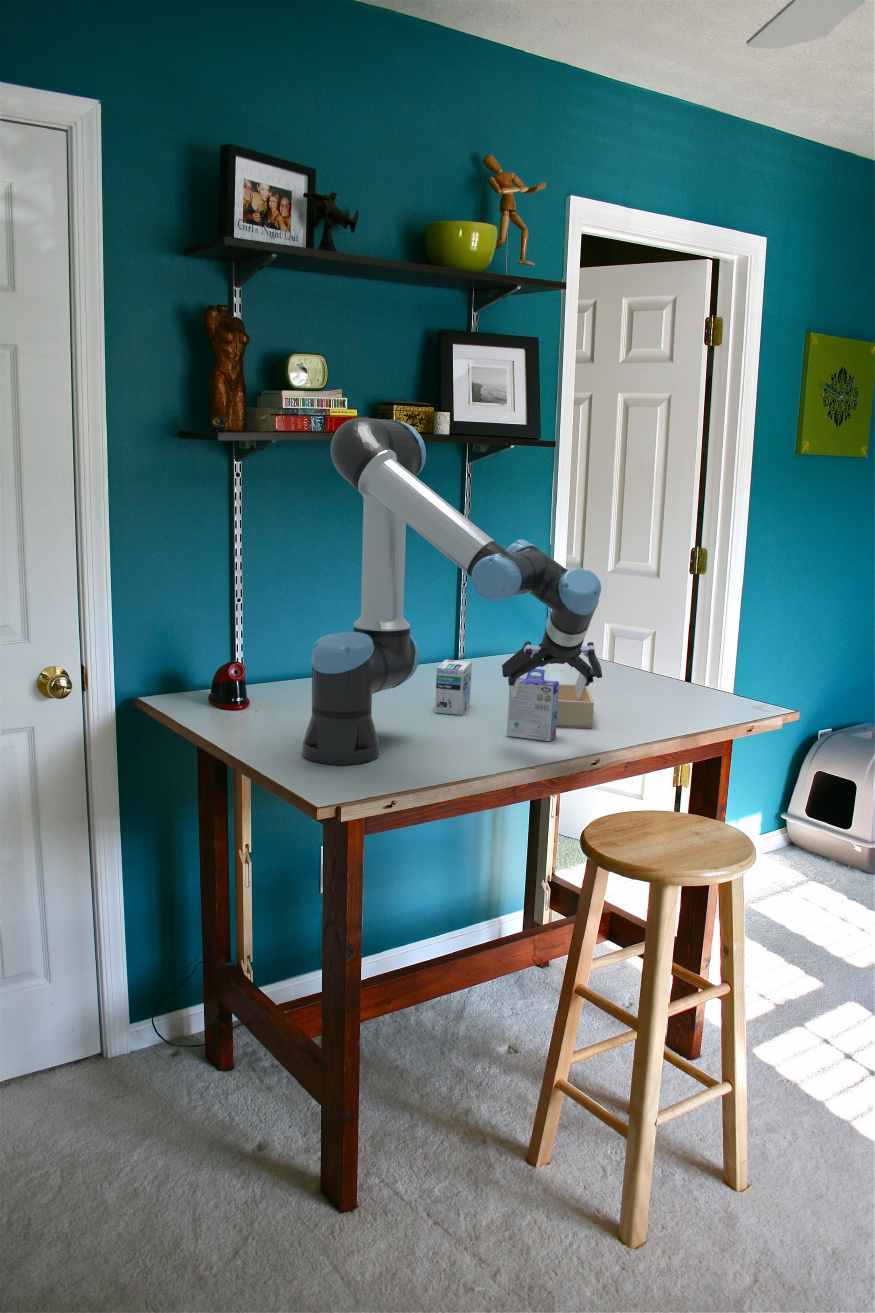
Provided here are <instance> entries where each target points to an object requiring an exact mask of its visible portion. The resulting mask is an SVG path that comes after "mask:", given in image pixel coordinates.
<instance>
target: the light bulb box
mask: <svg viewBox="0 0 875 1313" xmlns="http://www.w3.org/2000/svg"><path fill="white" fill-rule="evenodd" d="M472 664H473V663H472V662H471V661H463V660H453V659H445V660H443V661H442V662H441V664H440V665H438V666H437V667H436V674H435V676H436V677H435V678H436V680H435V683H436V684H435V704H434V705H435V707H434V708H435V709H434V710H435V713H436V714H447V715H457V716H463V715H464V714H465V712H466V711H467V710H468V708H469V707H470V706H471V688H472V685H471V684H472Z"/></svg>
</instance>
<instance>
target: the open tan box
mask: <svg viewBox="0 0 875 1313" xmlns="http://www.w3.org/2000/svg"><path fill="white" fill-rule="evenodd" d="M575 685H576V684H568V683H559V692H558V708H557V725H556V728H565V729H567V728H568V729H583V728H584V729H585V730H588V729H589V730H593V722H594V720H593V719H594V706H595V705H594V704H595V702H594V699H593V696H592V694H591V692H590V689H589V685H588V686H584V689H583V691H582V694H581V696H580V698H576V692H575Z"/></svg>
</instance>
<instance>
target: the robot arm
mask: <svg viewBox="0 0 875 1313" xmlns="http://www.w3.org/2000/svg"><path fill="white" fill-rule="evenodd" d="M329 450H330V457H331V458H330V459H331V460H332V464H333V465H334V466H333V467H335V470H336V471H337V472H338V473H339V474H340V476H342V478H343V479H345V480H346V481H347V483H349V484H350V485H351V486H352V487H354V488H355V489H356V490H357V491H358V492H359V494H360V495H362V497H363V506H362V507H363V512H362V513H363V514H362V515H363V516H362V517H363V518H362V554H361V555H362V556H361V557H362V560H361V561H362V562H361V603H360V604H361V606H360V607H361V608H360V611H361V612H360V614H361V615H360V616H359V618H358V619H356V620H355V621H354V622H353V631H342V632H338V633H337V632H334V633H330V634H326V635H323V636H321V637H319V638H318V639H316V641H315V642H314V643H313V647H312V656H311V661H310V662H311V666H312V667H311V670H312V672H311V716H310V720H309V723H308V725H307V728H306V731H305V734H304V737H303V739H302V740H303V741H302V748H301V749H302V756H303V757H304V758H306V759H307V760H309V761H312V762H316V763H320V764H325V765H335V766H336V765H341V766H343V765H346V766H347V765H357V764H363V763H368V762H371V761H374V760H375V759H377V758H378V757H379V756H380V748H381V747H380V745H381V744H380V740H379V737H378V733H377V731H376V727H375V724H374V721H373V717H372V705H373V704H372V702H373V700H372V699H373V695H374V694H376V693H379V692H382V691H386V690H390V689H394V688H397V687H398V686H401V685H403V683H406V682H407V681H409V679H410V678H412V676H414V674H415V672H416V670H417V668H418V666H419V662H420V649H419V647H418V644H417V642H416V641H415V639H414V637H413V635H411V623H409V622H408V621H407V620H406V619H405V616H404V604H405V603H404V597H405V596H404V595H405V568H406V566H405V565H406V563H405V562H406V560H405V559H406V538H407V535H406V531H407V530H406V529H407V526H409V527H410V528H411V529H413V530H414V531H416V533H418V534H419V535H420V536H421V537H422V538H423V539H425V540H426V541H427V542H429V544H431V545H432V546H433V547H434V548H436V550H438V551H439V552H440V553H442V554H443V555H444V556H445V557H446V558H448V559H449V560H450V562H453V564H455V565H456V566H457V567H458V568H460V569H461V570H462V571H463V572H464V573H466V574H467V576H469V577H471V583H472V585H473V588H474V590H475V592H476V593H477V595H479V596H480V597H482V598H484V599H486V600H492V601H494V600H495V601H496V600H498V601H500V600H506V599H510V598H512V597H515V596H519V595H524V594H530V595H531V596H533V597H535V598H536V599H537V600H538V601H540V602H541V603H542V604H544V605H546V606H547V607H548V608H549V609H551V612H550V615H549V618H548V620H547V624H546V627H545V630H544V633H543V635H542V636H543V637H542V641H541V642H540V643H539V644H538V645H535V644H534V645H532V643H531V641H529V640H528V641H525V642H524V644H523V646H522V647H521V648H520V649H519V650H518V651H517V652H516V653H515V654H514V655H512V656H511V657H510V658H509V659H507V660H506V661H504V663H503V664H502V665H501V668H502V669H501V670H502V676H503V678H507V682H508V686H509V687H510V686H511V696H512V697H515V696H516V693H517V689H518V686H519V683H520V678H521V677H522V676H524V675H525V674H526V675H527V674H528V672H529V671H531V670H533V669H538V667H540V668H543V667H545V666H547V665H549V664H550V665H554V664H559V665H565V664H568V666H570V667H571V668H574V669H575V670H576V671H577V672H579V674H578V677H577V679H576V682H575V684H574V685H575V692H576V698H580V696H581V694H582V691H583V689H584V686H588V687H589V685H590V684H592V683H594V678H597V679H601V678H603V673H602V666H601V664H600V661H599V659H598V657H597V655H596V651H595V646H594V645H595V644H594V642H593V641H592V642H591V641H590V642H587V644H586V645H583V643H584V640H585V637H586V635H587V632H588V630H589V627H590V625H591V621H592V619H593V616H594V614H595V611H596V609H597V608H598V604H599V602H600V596H601V592H602V584H601V580H600V579H599V577H598V576H597V575H596V574H595V572H592V571H591V570H589V569H583V568H582V567H575V568H570V569H567V568H565V567H564V566H563V565H561V563H558V562H557V561H556V560H554V559H553V558H552V557H550V556H549V555H548V554H546V553H545V552H544V551H543V550H541V549H540V548H539V547H538V546H536V545H535V544H532V543H530V542H529V541H527V540H526V539H518V540H516V541H514V543H511V544H510V545H509V546H508V547H507V548H506V549H505V548H504V547H502V545H500V544H499V543H497V542H496V541H495V539H493V538H491V536H489V535H488V534H487V533H485V532H484V531H483V530H482V529H480V528H479V527H478V526H477V525H475V524H474V523H473V522H472V521H470V519H468V518H467V517H466V516H465V515H463V514H462V513H461V512H460V511H459V510H457V508H455V507H453V505H451V504H450V503H449V502H447V500H445V499H444V498H442V497H441V496H440V495H439V494H438V493H436V492H435V491H434V490H433V489H432V488H430V487H429V486H428V485H427V484H425V483H424V482H423V481H422V480H420V479H419V478H418V477H417V476H418V475H419V474H420V472H421V471H422V470H423V469H424V467H425V464H426V461H427V460H426V459H427V451H426V446H425V441H424V440H423V438H422V436H421V434H420V433H419V432H418V430H416V428H414V427H413V426H412V425H411V424H409V423H406V422H404V421H403V422H402V421H399V420H395V419H383V418H382V419H379V418H369V417H356V418H355V417H354V418H352V419H349V420H347V421H345V422H343V423H342V424H341V425H340V426H339V427H338V428H337V429H336V431H335V432H334V434H333V436H332V439H331V443H330V449H329ZM581 654H583V655H584V656H585V658H586V659H588V662H586V661H585V660H584V659H582V658H581V656H580V655H581ZM588 663H589V664H588Z"/></svg>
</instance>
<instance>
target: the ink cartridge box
mask: <svg viewBox="0 0 875 1313" xmlns="http://www.w3.org/2000/svg"><path fill="white" fill-rule="evenodd" d="M545 672H546V670H545V669H540V668H539V669H538V668H535V669H533V670H531V671H529V672H528V673H526V678H525V677H520V683H519V686H518V689H517V693H516V696H515V697H512V696H511V686H509V688H508V690H509V691H508V692H509V693H508V705H507V706H508V707H507V708H508V710H507V725H506V726H507V727H506V736H507V737H513V738H520V739H521V738H523V739H529V740H537V741H545V742H546V741H547V742H550V741H552V740H554V738H556V736H557V727H556V725H557V708H558V692H559V684H560V682H559V681H558V680H550V679H549V680H547V679H545ZM531 673H538V674H541V675H533V674H531Z"/></svg>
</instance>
